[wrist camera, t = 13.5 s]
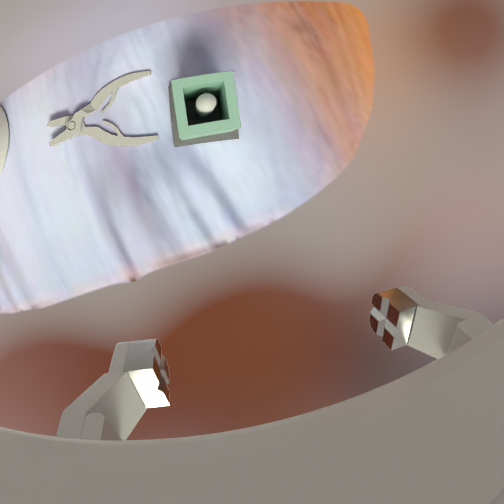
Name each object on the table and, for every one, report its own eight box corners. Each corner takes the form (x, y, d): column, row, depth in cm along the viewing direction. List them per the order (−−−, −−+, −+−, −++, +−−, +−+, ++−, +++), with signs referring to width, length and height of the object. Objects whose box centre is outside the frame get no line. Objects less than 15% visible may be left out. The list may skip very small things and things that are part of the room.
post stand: (175, 147, 33) (170, 146, 26) (169, 87, 30) (163, 72, 23) (237, 138, 34) (250, 136, 27) (231, 80, 32) (242, 63, 24)
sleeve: (182, 140, 32) (179, 138, 25) (175, 94, 30) (170, 80, 23) (230, 131, 33) (241, 127, 26) (223, 87, 31) (232, 70, 23)
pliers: (157, 140, 31) (52, 169, 29) (158, 140, 33) (57, 168, 31) (149, 67, 28) (45, 100, 26) (150, 70, 29) (49, 101, 27)
